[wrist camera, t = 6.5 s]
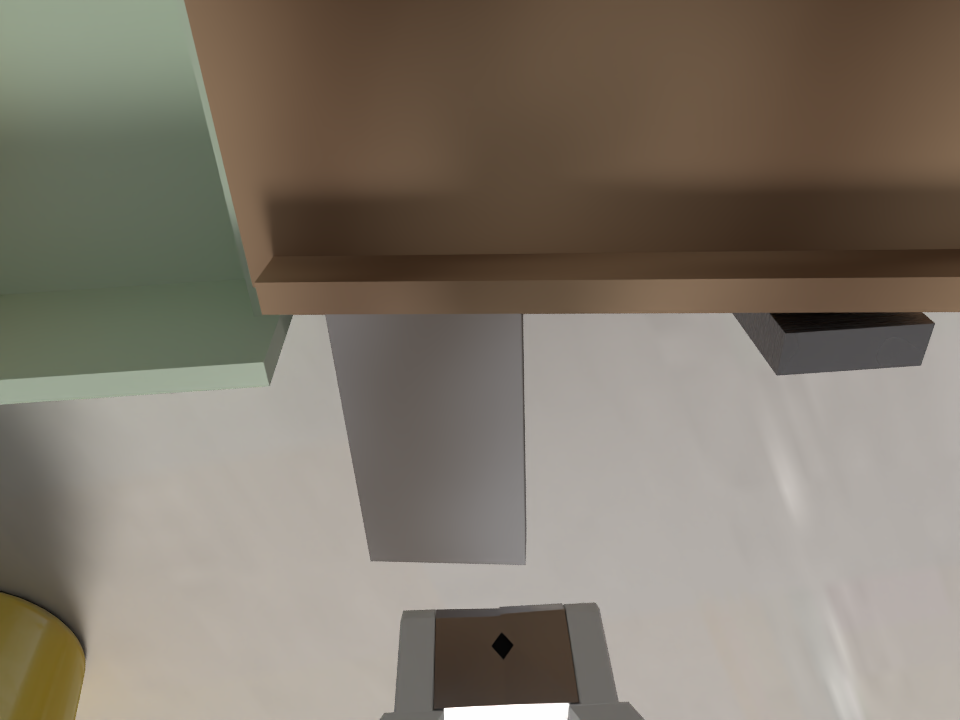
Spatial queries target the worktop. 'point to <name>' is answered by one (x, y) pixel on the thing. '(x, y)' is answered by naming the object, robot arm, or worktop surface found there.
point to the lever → (565, 198)
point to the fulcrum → (838, 340)
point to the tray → (117, 212)
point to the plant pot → (37, 663)
